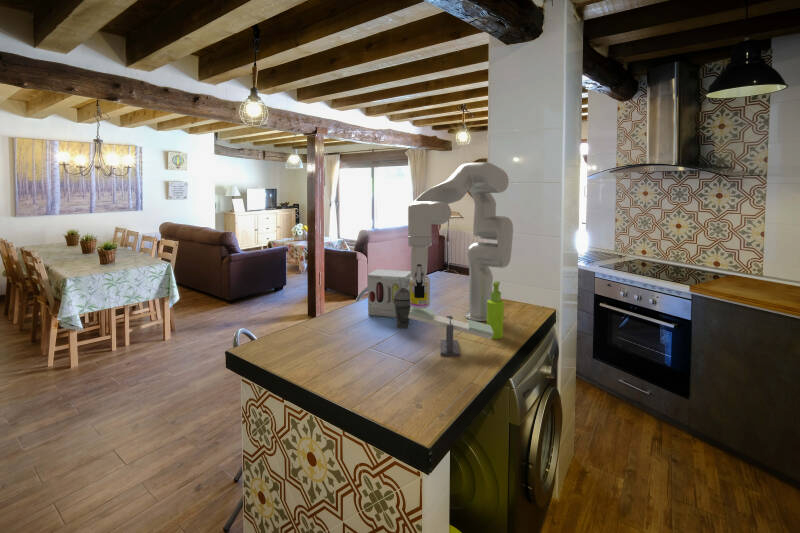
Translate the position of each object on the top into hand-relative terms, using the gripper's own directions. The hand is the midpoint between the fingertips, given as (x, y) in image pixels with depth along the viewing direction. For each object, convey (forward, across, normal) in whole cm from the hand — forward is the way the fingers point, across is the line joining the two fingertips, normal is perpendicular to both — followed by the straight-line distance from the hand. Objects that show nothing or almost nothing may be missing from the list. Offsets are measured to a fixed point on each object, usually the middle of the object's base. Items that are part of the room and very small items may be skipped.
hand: (420, 294), depth 137 cm
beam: (+10, 0, +10) cm, 14 cm away
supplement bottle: (+4, 0, 0) cm, 4 cm away
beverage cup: (+19, -22, -8) cm, 30 cm away
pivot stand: (+19, 0, +10) cm, 21 cm away
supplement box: (+19, -40, -15) cm, 47 cm away
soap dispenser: (+19, -14, +27) cm, 36 cm away
